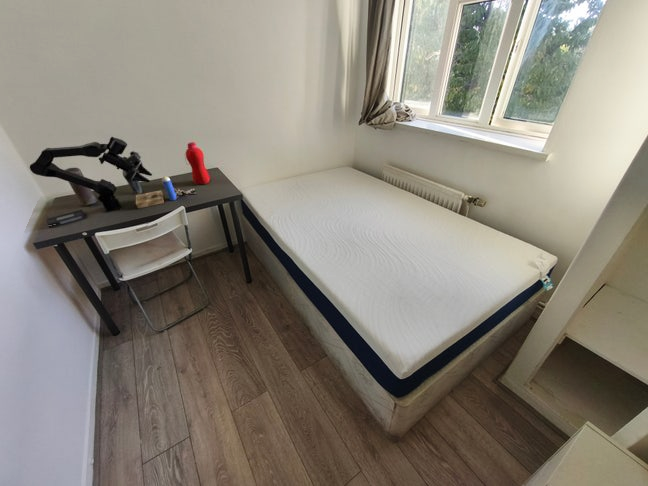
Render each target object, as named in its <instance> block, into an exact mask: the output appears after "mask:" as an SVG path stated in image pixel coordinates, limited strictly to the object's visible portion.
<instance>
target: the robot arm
mask: <svg viewBox="0 0 648 486" xmlns="http://www.w3.org/2000/svg"><path fill="white" fill-rule="evenodd" d="M127 147H128V143H127V142H126V141H124V140H123V139H122V138H121V139H120V138H117V137H114V136H110V138H109V141H108V143H99V142H98V141H92V142H88V143H84V144H82V145H75V146H62V147H46V148H44V149H43V150H42V151H41V153H40V155H39V156H38V157H37V159H36V160H35V161H34V162H32V163H31V164H30V165H29V170H30V171H31V173H32V174H34V175H36V176H40V177H45V178H57V179H59V180H63V181H65V182H68V183H69V182H71V183H74V184H77V185H80V186H83V187H86V188H89V189H91V190H92V191H93V192H94V193H96V194H98V197H97V201H99V202H100V203H101V204H102V206H103V207H104V209H105V211H104V212H106V213H107V212H112V211H116V210H120V209H121V202H120V200H119V198H118V197H116V195H115V193H116V191H117V186H116V185H115V183H112V181H108V180H106V179H103V178H101V179H100V180H94V179H91V178H88V177H86V176H84V175H83V176H84V177H83V176H80V175H77V174H74V173H71V172H69V171H66V170H65V169H63V168H61V167H59V166H58V165H56V164H55V163H53V161H54V159H55V158H56V159H57V158H68V157H87V158H88V157H89V158H98V160H99V163H100V165H103V164H104V163H105V162H106V163H108V164H110V165H111V166H113V167H116V170H122V171H123V170H124V171H126V175H125V178H124V179H125V181H127V180H128V181H130V180H131V179H132V180H131V181H139V182H141V183H142V182H144V183H150V182H151V180H150V179H149V178H147V177H146V176H148V177H152V176H153V174H152V173H151V172H150V171H149V170H148V169H147V168H146V167H145V166H144V165H143V161H142V160H141V159H142V156H141V155H140V154H139V152H136V151H133V150H132V151H130V152H129V156H127V157H126V156H120V155H123V154H124V152H125V149H126V148H127ZM144 175H145V176H144Z"/></svg>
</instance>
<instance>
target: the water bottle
mask: <svg viewBox="0 0 648 486" xmlns="http://www.w3.org/2000/svg"><path fill="white" fill-rule="evenodd" d="M186 145H187V149H186V151H185V158H184V160H185V161H184V162H185V163H186V165H187V166H189V165H190V168H191V175H192V176H191V177H192V181H193V183H194V184H195V185H198V186H199V185H207V184H208V183H210V181H211V177H210V174H209V171H208V169H207V168H206V166H205V162H204V161H205V160H204V159H205V158H204V153H203V151H202V149H201V148H199V147H197V144H196V142H193V141H192V142H189V143H187V144H186ZM187 162H188V163H187Z"/></svg>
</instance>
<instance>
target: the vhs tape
mask: <svg viewBox="0 0 648 486" xmlns="http://www.w3.org/2000/svg"><path fill="white" fill-rule="evenodd" d="M83 219H86V218H85V212H84V211H83V209H78V210H75V211H71V212H67V213H64V214H59V215H55V216H52V217H49V218H47V219H46V221H47V222H46V225H47V226H48V225H52V226H48V228H49V229H51V228H55V227H58V226H62V225H67V224H70V223H72V222H75V221H76V222H77V221H80V220H83ZM53 224H56V225H53Z"/></svg>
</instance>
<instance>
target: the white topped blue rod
mask: <svg viewBox="0 0 648 486" xmlns="http://www.w3.org/2000/svg"><path fill="white" fill-rule="evenodd" d="M161 182H162V185H163V186H164V189H165V192H166V195H167V197H168V199H169V201H176V200H177V199H178V196H177V194H176V191H175V189H174V185H173V183H172V181H171V179H170V177H169V176H163V177H162V179H161Z"/></svg>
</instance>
